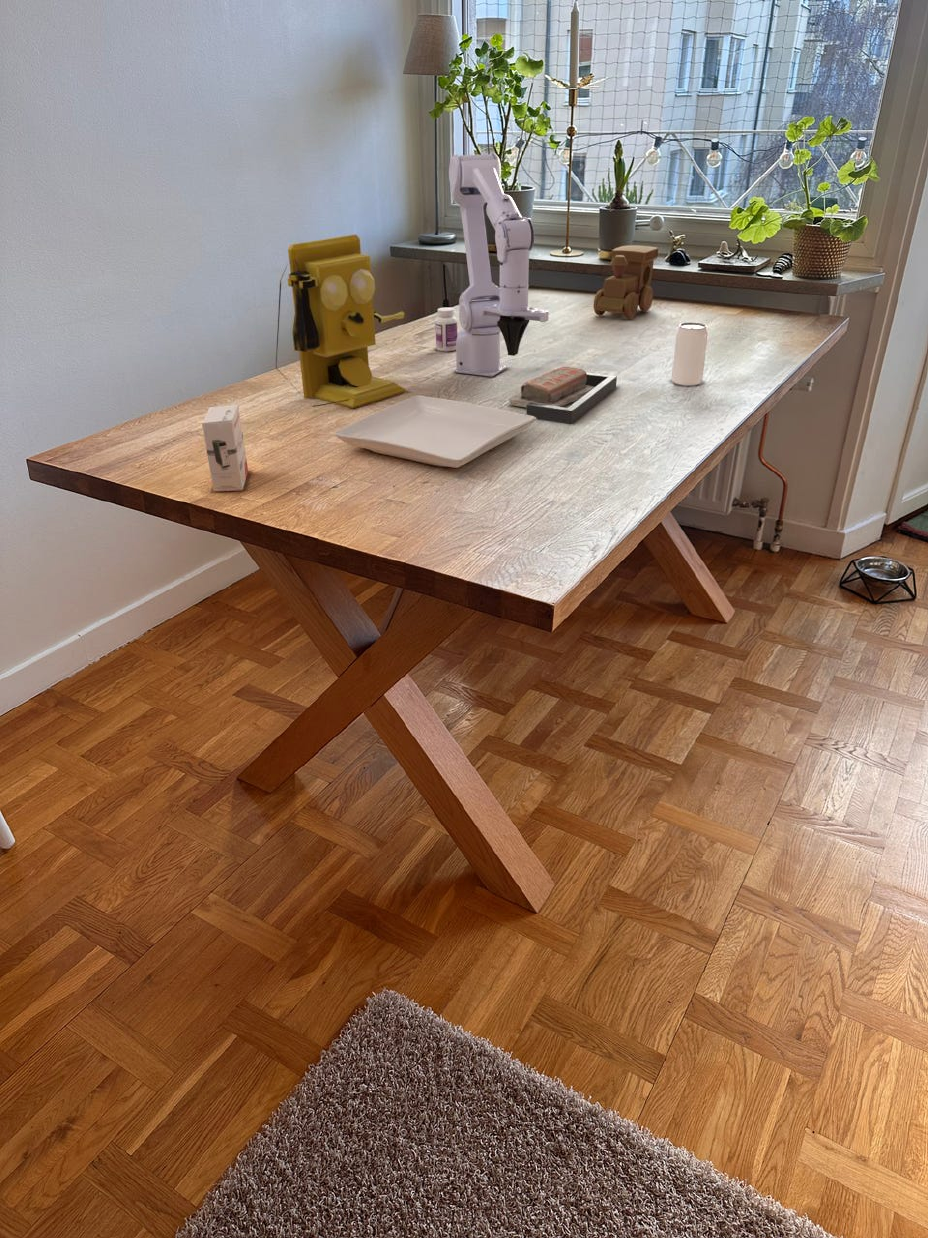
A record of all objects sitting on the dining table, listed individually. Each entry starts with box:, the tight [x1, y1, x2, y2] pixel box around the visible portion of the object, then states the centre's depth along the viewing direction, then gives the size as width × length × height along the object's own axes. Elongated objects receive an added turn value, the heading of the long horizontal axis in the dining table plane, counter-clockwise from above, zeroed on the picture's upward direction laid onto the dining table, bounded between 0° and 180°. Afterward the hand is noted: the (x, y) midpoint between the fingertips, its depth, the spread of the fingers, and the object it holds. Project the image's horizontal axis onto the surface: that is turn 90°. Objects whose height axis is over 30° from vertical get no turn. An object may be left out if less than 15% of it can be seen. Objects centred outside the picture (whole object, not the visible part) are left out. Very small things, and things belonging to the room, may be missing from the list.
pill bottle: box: [434, 306, 459, 352], centre depth 219 cm, size 5×5×10 cm
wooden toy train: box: [593, 244, 659, 320], centre depth 248 cm, size 20×11×17 cm, turn 147°
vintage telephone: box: [275, 234, 407, 410], centre depth 181 cm, size 31×14×30 cm, turn 137°
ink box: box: [201, 404, 249, 492], centre depth 146 cm, size 9×5×12 cm, turn 5°
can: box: [671, 321, 709, 387], centre depth 191 cm, size 6×6×12 cm
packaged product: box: [508, 366, 595, 409], centre depth 184 cm, size 18×5×10 cm
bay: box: [525, 372, 618, 424], centre depth 182 cm, size 10×26×2 cm, turn 153°
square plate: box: [332, 394, 537, 469], centre depth 162 cm, size 27×27×4 cm
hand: (512, 354), depth 185 cm, fingers closed
